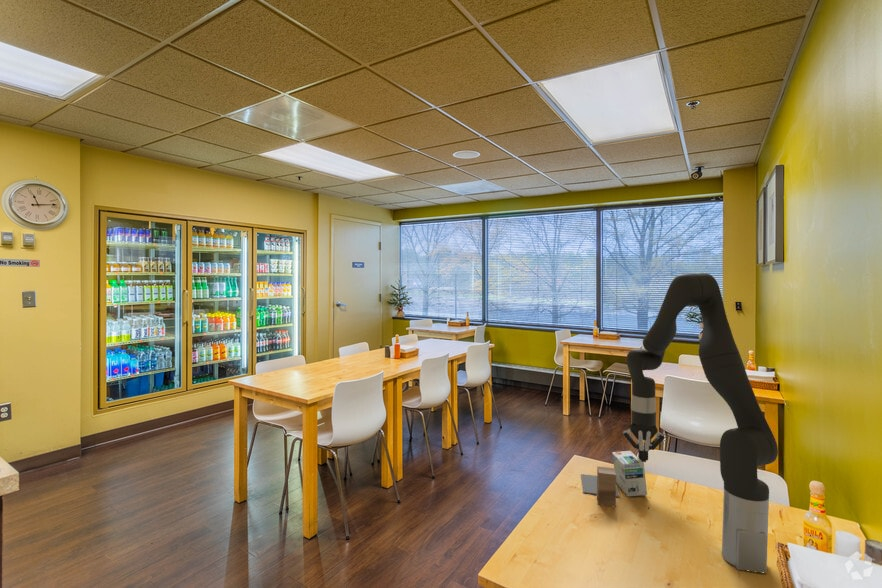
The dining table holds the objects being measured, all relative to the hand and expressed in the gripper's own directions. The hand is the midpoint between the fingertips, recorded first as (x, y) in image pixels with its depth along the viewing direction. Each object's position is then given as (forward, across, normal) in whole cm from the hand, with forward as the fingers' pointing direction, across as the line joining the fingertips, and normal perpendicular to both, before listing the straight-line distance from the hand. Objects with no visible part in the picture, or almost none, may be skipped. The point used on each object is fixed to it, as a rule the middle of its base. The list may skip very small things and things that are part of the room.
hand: (643, 461), depth 145 cm
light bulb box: (+10, -4, 0) cm, 11 cm away
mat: (+10, -14, 0) cm, 17 cm away
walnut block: (+10, -13, -11) cm, 20 cm away
